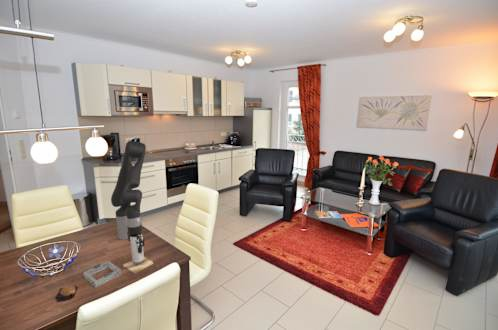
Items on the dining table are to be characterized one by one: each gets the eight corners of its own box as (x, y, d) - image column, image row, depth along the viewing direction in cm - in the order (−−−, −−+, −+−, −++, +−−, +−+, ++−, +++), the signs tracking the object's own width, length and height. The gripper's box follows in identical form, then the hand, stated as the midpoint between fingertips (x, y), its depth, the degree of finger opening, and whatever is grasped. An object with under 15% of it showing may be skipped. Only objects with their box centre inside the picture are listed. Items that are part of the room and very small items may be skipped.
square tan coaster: (122, 266, 147) (122, 264, 147) (141, 256, 157) (141, 255, 157) (134, 274, 141) (133, 272, 140) (153, 263, 150) (153, 262, 150)
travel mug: (131, 259, 150) (128, 228, 145) (143, 256, 153) (140, 225, 148) (132, 265, 144) (128, 232, 140) (144, 262, 147) (141, 230, 143)
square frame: (84, 277, 137) (83, 270, 136) (109, 265, 148) (108, 259, 147) (95, 287, 130) (94, 280, 129) (121, 274, 140) (120, 267, 139)
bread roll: (59, 290, 128) (58, 284, 128) (79, 285, 132) (78, 279, 131) (53, 304, 119) (52, 298, 118) (75, 299, 122) (74, 292, 122)
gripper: (147, 224, 142) (150, 251, 146) (133, 218, 150) (136, 244, 154) (135, 229, 136) (137, 257, 140) (121, 222, 144) (124, 249, 148)
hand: (136, 250), depth 147 cm, fingers closed on travel mug, 6 cm apart
